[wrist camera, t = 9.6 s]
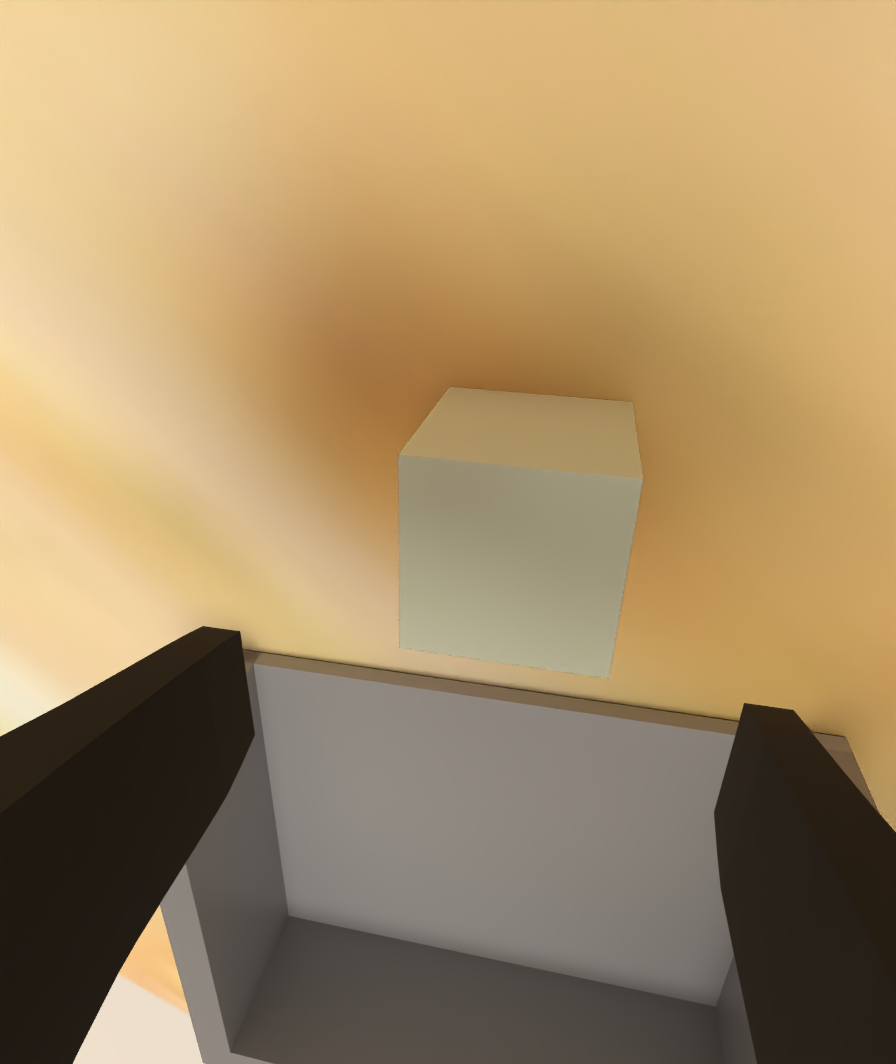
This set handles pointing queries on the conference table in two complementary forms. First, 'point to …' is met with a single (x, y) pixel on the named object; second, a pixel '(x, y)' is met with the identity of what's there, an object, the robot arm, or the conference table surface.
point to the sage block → (518, 528)
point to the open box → (461, 879)
